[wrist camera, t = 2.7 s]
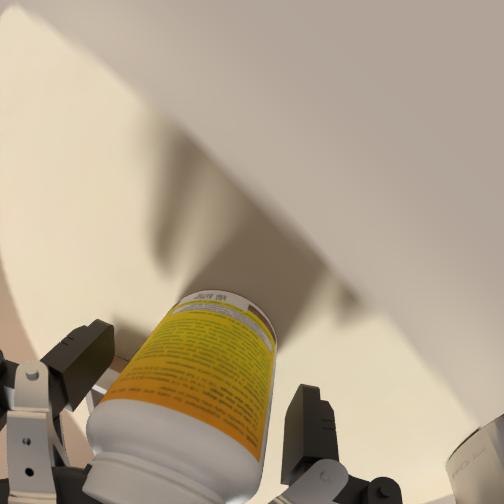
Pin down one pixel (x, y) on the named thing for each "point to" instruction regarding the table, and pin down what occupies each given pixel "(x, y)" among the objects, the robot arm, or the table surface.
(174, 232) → the table surface
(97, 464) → the supplement bottle
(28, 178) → the table surface
